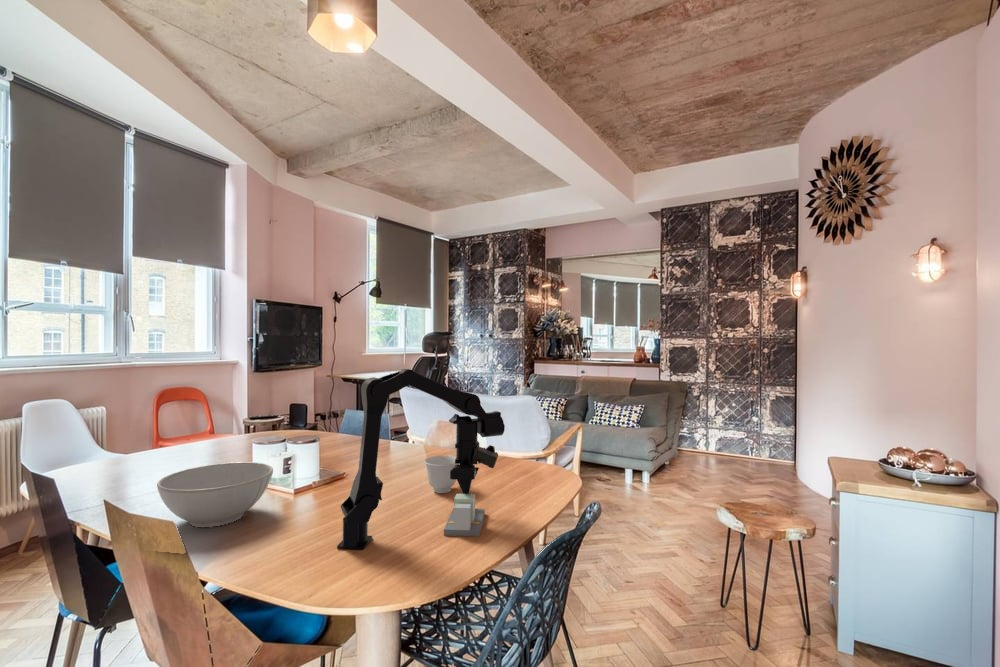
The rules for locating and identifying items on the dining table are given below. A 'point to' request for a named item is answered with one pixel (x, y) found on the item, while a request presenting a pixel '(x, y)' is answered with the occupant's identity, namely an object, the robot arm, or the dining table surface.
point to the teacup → (440, 472)
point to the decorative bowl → (214, 491)
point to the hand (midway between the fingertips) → (466, 496)
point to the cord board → (465, 533)
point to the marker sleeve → (466, 502)
